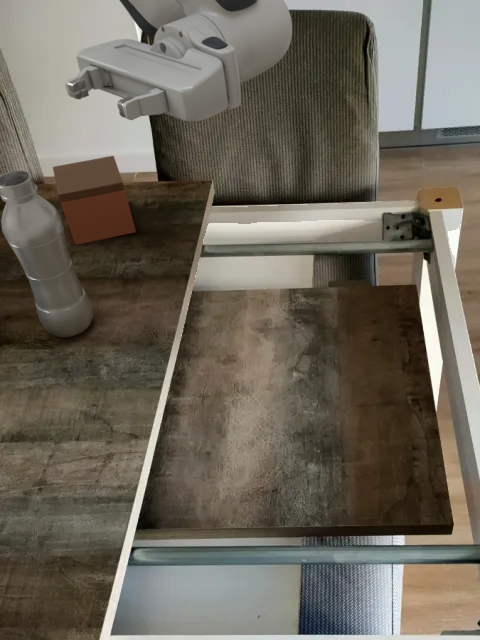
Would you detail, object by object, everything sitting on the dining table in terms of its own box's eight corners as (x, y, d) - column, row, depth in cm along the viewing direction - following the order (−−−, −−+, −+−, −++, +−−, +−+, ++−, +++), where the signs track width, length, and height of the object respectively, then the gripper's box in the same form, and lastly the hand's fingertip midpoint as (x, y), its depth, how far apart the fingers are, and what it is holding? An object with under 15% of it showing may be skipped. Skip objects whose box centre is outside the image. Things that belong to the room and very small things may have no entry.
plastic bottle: (35, 340, 82) (-32, 191, 68) (62, 307, 87) (4, 161, 72) (82, 347, 81) (23, 197, 66) (106, 313, 86) (56, 166, 71)
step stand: (75, 245, 97) (57, 194, 91) (69, 215, 103) (52, 166, 97) (136, 232, 99) (122, 182, 93) (126, 204, 105) (113, 155, 99)
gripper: (127, 17, 81) (31, 50, 75) (244, 50, 72) (148, 92, 65) (139, 71, 86) (50, 107, 79) (251, 109, 77) (161, 153, 70)
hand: (95, 101), depth 72 cm, fingers open, 8 cm apart
